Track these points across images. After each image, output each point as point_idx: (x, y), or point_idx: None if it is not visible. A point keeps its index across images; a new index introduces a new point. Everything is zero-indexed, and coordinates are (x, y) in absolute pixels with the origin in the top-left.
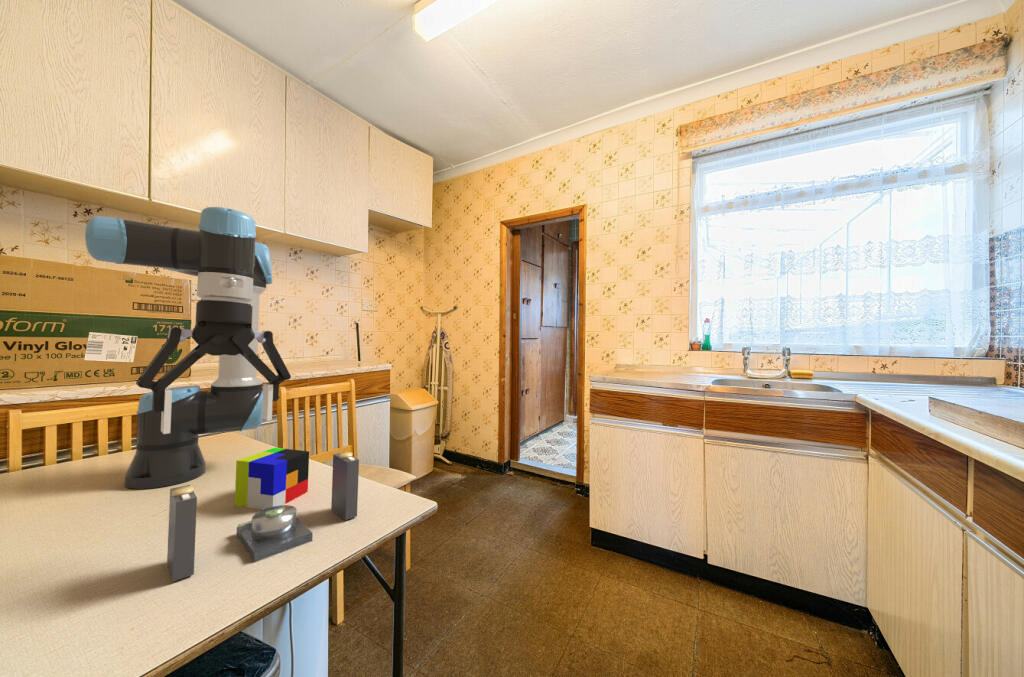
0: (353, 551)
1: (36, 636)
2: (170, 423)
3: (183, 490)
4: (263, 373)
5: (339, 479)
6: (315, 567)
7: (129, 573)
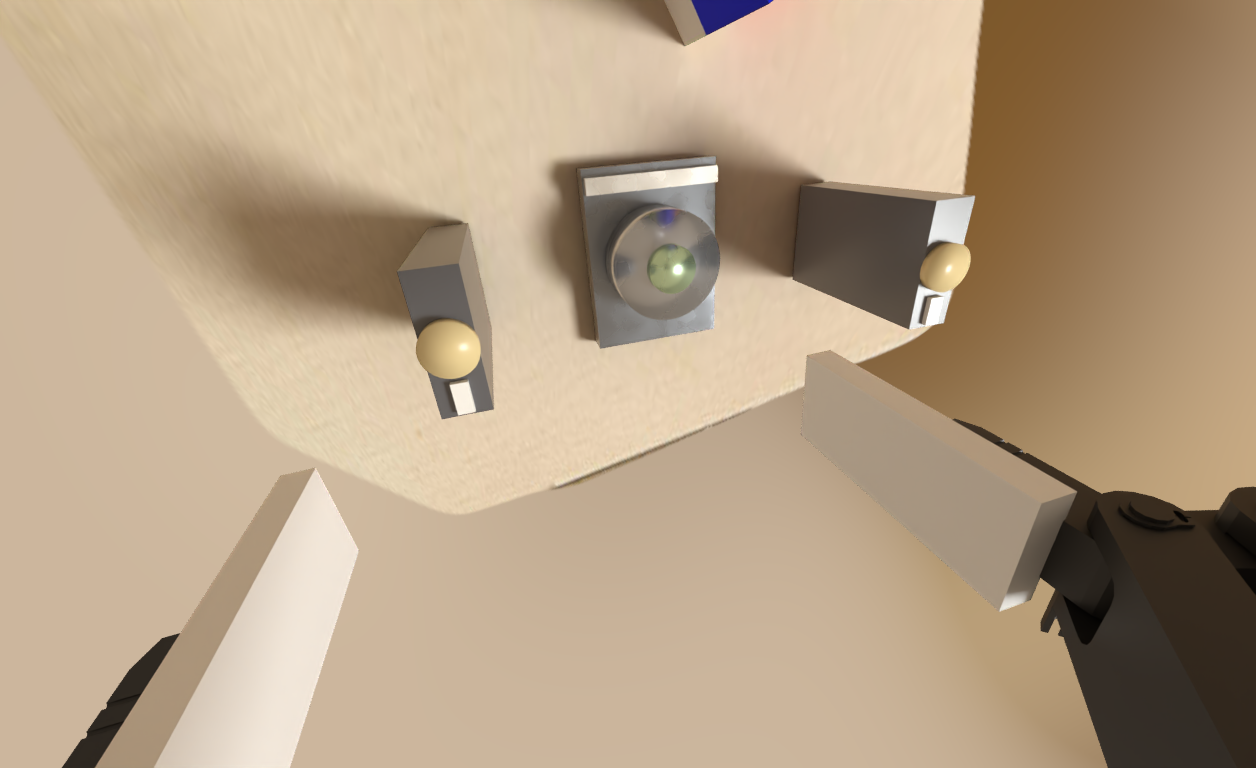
0: (744, 406)
1: (263, 373)
2: (342, 597)
3: (450, 364)
4: (1108, 726)
5: (864, 252)
6: (678, 419)
7: (352, 218)
